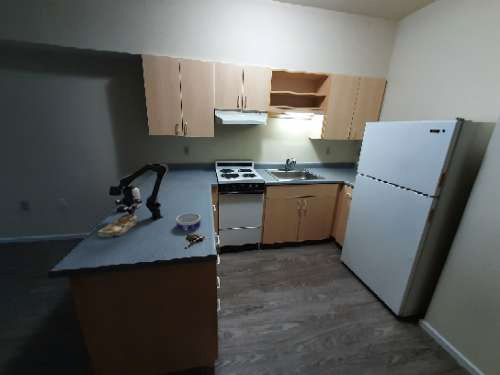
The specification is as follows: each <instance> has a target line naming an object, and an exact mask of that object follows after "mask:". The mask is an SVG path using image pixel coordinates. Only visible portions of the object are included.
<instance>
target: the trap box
mask: <svg viewBox="0 0 500 375" xmlns="http://www.w3.org/2000/svg"><path fill="white" fill-rule="evenodd" d="M136 225H138V217H137V215H133V216H132V218H131V219H130V222H128V223H127V224H122V223H121V222H120V217H119V218H118V219H116V220H115V221H113V222H111V223H109V224H108V225H106V226H105V227H103V228H101V229H100V230H98V231H97V235H98V237H103V238H113V237H121V236H123V235H125V233H127V232H128V231H130V230H131V229H132V228H133V227H135V226H136Z"/></svg>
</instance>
